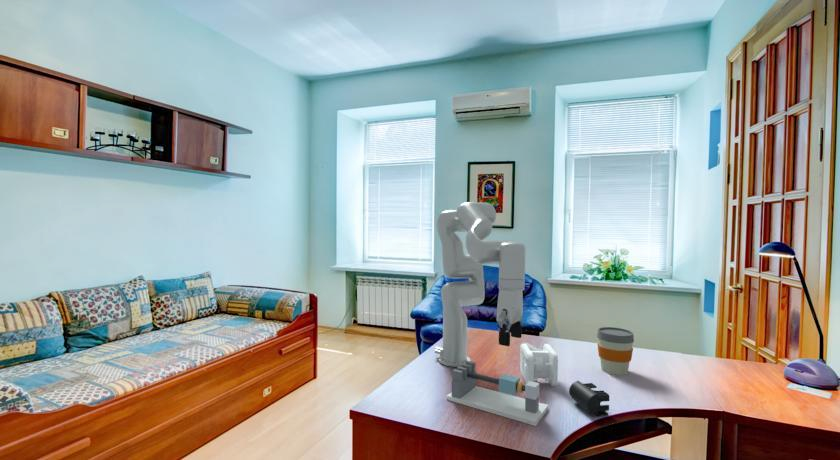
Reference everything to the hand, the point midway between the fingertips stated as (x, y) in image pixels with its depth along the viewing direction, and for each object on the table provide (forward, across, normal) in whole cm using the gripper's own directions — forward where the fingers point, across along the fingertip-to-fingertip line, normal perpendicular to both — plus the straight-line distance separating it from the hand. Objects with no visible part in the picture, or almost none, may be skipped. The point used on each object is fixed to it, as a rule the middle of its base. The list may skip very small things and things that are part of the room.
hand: (510, 341), depth 118 cm
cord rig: (+20, 0, -4) cm, 20 cm away
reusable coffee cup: (+20, -52, +22) cm, 60 cm away
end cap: (+20, -13, +20) cm, 31 cm away
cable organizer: (+20, -25, +1) cm, 32 cm away
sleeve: (+15, 0, 0) cm, 15 cm away
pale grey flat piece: (+21, -53, -13) cm, 58 cm away
